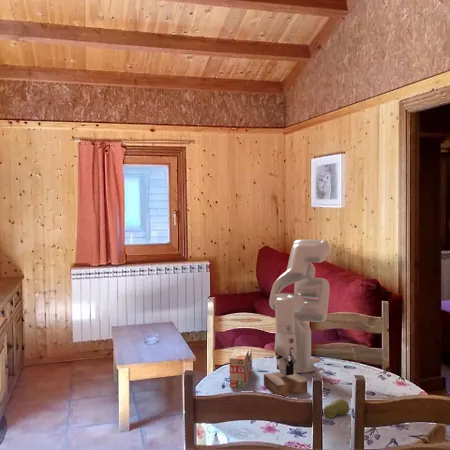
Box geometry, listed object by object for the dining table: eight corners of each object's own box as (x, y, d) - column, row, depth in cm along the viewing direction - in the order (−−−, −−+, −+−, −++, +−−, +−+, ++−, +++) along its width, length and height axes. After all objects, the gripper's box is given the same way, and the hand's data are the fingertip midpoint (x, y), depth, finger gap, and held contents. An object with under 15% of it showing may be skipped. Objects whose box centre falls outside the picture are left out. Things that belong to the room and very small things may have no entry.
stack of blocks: (238, 369, 218) (238, 342, 217) (252, 369, 216) (251, 342, 216) (229, 387, 197) (229, 357, 196) (244, 388, 195) (244, 358, 195)
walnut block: (292, 381, 202) (292, 370, 202) (307, 393, 190) (307, 381, 190) (263, 386, 198) (263, 374, 198) (277, 398, 186) (277, 385, 186)
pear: (351, 400, 169) (327, 410, 165) (353, 415, 169) (329, 424, 166) (342, 394, 174) (318, 403, 170) (344, 408, 174) (320, 417, 171)
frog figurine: (281, 371, 198) (281, 354, 198) (296, 375, 194) (296, 357, 193) (273, 375, 194) (273, 358, 193) (288, 379, 189) (288, 361, 189)
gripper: (304, 332, 186) (304, 377, 187) (282, 322, 202) (282, 364, 203) (288, 334, 183) (288, 380, 184) (266, 324, 199) (266, 366, 200)
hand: (285, 371), depth 194 cm, fingers closed on frog figurine, 6 cm apart
